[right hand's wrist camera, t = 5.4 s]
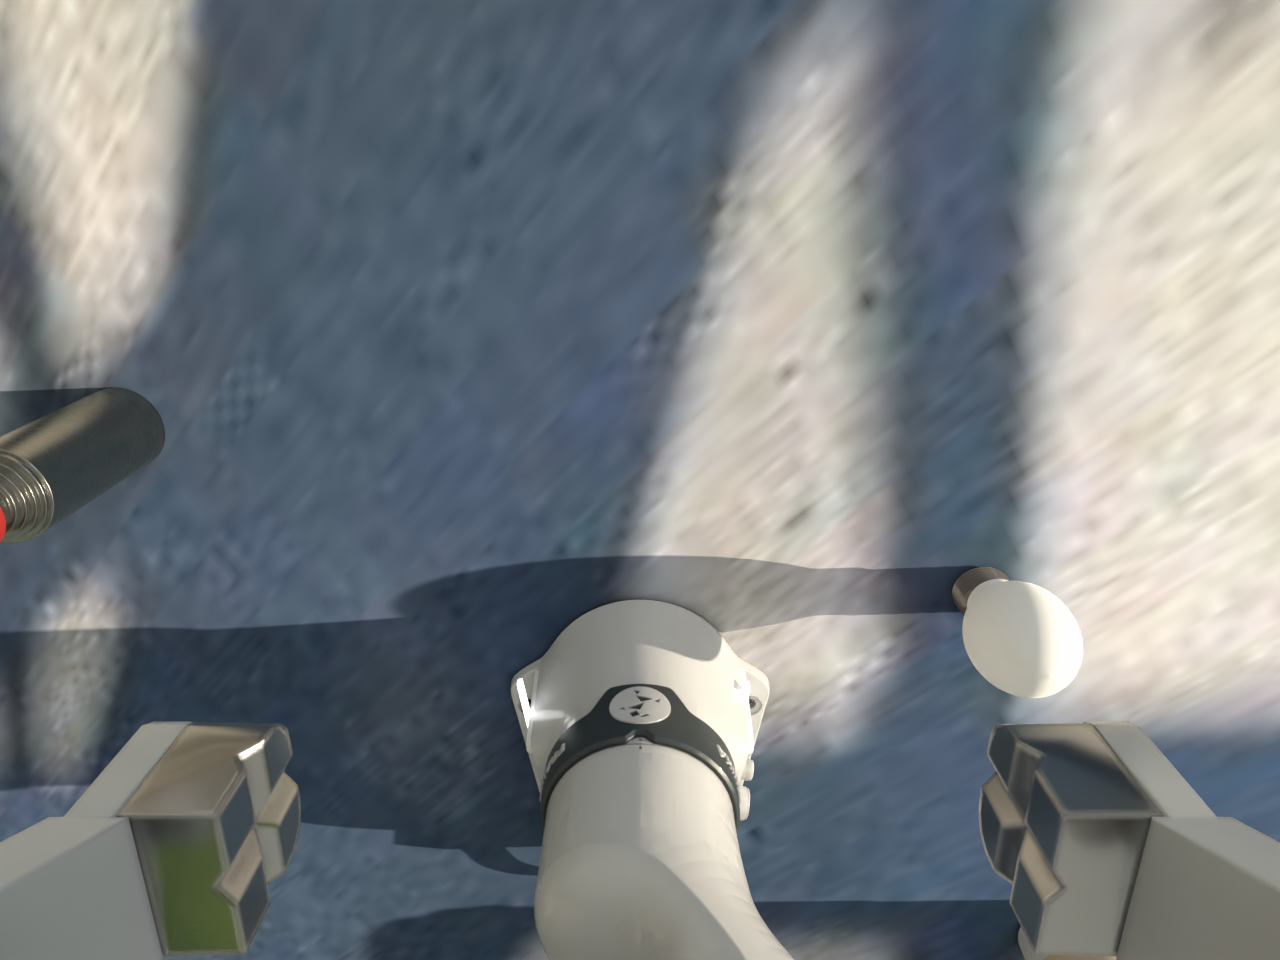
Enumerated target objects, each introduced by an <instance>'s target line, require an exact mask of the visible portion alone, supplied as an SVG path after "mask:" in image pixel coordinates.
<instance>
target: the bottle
mask: <svg viewBox="0 0 1280 960" xmlns="http://www.w3.org/2000/svg"><path fill="white" fill-rule="evenodd" d="M164 440H165V431H164V425H163V422H162V419H161V417H160V415H159V414H158V412H157V411H156V409H155V408H154V407H153V405H152V404H151V403H150V402H148V401H147V400H146V399H145V398H144V397H142V396H140V395H139V394H137V393H135V392H133V391H130V390H127V389H123V388H105V389H101V390H99V391H97V392H94V393H92V394H90V395H88V396H86V397H84V398H82V399H79V400H77V401H75V402H73V403H71V404H69V405H67V406H64V407H62V408H60V409H58V410H56V411H54V412H52V413H49V414H47V415H45V416H43V417H41V418H39V419H37V420H35V421H32V422H30V423H28V424H26V425H24V426H22V427H20V428H17V429H15V430H13V431H11V432H9V433H7V434H5V435H2V436H0V507H1V508H2V511H3V513H4V516H5V521H6V531H5V534H4V537H3V539H2V541H1V542H0V543H19V542H25V541H29V540H32V539H34V538H36V537H38V536H39V535H41V534H42V533H44V532H45V531H47V530H48V529H50V528H51V527H53V526H54V525H56V524H58V523H59V522H61V521H62V520H64V519H65V518H67V517H68V516H70V515H71V514H73V513H74V512H76V511H77V510H79V509H80V508H82V507H83V506H85V505H86V504H88V503H89V502H91V501H92V500H94V499H95V498H97V497H98V496H100V495H101V494H103V493H104V492H106V491H107V490H109V489H110V488H112V487H113V486H115V485H116V484H118V483H119V482H121V481H122V480H124V479H125V478H127V477H128V476H130V475H131V474H133V473H134V472H136V471H137V470H139V469H140V468H142V467H143V466H145V465H146V464H148V463H149V462H151V461H152V460H154V459H155V458H156V457H157V456H158V454H159V453H160V451H161V450H162V447H163V444H164Z"/></svg>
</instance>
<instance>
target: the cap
mask: <svg viewBox="0 0 1280 960" xmlns="http://www.w3.org/2000/svg"><path fill="white" fill-rule="evenodd" d="M5 531H6V521H5V516H4V513H3V511H2V508H1V507H0V542H1V541H2V539H3V537H4V534H5Z"/></svg>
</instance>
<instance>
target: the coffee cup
mask: <svg viewBox="0 0 1280 960" xmlns="http://www.w3.org/2000/svg"><path fill="white" fill-rule="evenodd" d="M1018 942H1019V946H1020V948H1021V951H1022V954H1023V956H1024V959H1025V960H1116V956H1081V955H1046V954H1034V952H1033V950H1032V948H1031V946H1030V944H1029V942H1028V940H1027V938H1026V936H1025V934H1024V932H1023V930H1022V928H1021V927H1020V930H1019V933H1018Z"/></svg>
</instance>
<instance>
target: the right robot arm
mask: <svg viewBox="0 0 1280 960" xmlns="http://www.w3.org/2000/svg"><path fill="white" fill-rule="evenodd" d="M511 696H512V700H513V703H514V707H515V710H516V714H517V717H518V720H519V724H520V727H521V731H522V734H523V737H524V741H525V744H526V749H527V752H528V755H529V758H530V761H531V765H532V768H533V772H534V775H535V779H536V782H537V785H538V789H539V792H540V799H539V802H541V804H540V822H541V828H542V832H543V842H542V849H541V857H540V864H539V871H538V879H537V886H536V894H535V901H534V915H535V923H536V928H537V932H538V935H539V939H540V941H541V944H542V946H543V948H544V950H545V952H546V954H547V955H548V957H549V959H550V960H795V959H794V958H793V957H792V956H791V955H790V954H789V953H788V952H787V950H786V949H785V948H784V947H783V946H782V945H781V944H780V943H779V941H778V940H777V939H776V938H775V936H774V935H773V934H772V932H771V931H770V930H769V929H768V927H767V925H766V924H765V922H764V921H763V919H762V918H761V916H760V915H759V913H758V911H757V909H756V907H755V905H754V903H753V900H752V898H751V895H750V891H749V888H748V884H747V880H746V876H745V873H744V868H743V864H742V860H741V855H740V850H739V845H738V839H737V832H738V828H739V822H740V820H742V821H743V820H746V819H747V816H748V813H749V806H750V792H749V789H748V788H746V787H745V786H742V785H743V782H744V780H752V777H753V772H754V763H753V760H750V758H751V755H752V752H753V750H754V744H755V741H756V738H757V734H758V731H759V727H760V724H761V721H762V717H763V714H764V710H765V707H766V703H767V700H768V697H769V681H768V678H767V677H766V676H765V674H764V673H762V672H761V671H760V670H758V669H757V668H755V667H754V666H752V665H750V664H749V663H747V662H745V661H743V660H742V659H740V658H739V657H738V656H737V655H735V653H734V652H733V651H732V650H731V648H730V647H729V646H728V644H727V643H726V641H725V640H724V639H723V637H722V636H721V635H720V634H719V632H718V631H717V630H716V629H715V628H714V627H712V626H711V625H710V624H709V623H708V622H707V621H705V620H704V619H703V618H701V617H699V616H698V615H696V614H694V613H693V612H691V611H689V610H687V609H684V608H682V607H679V606H677V605H673V604H670V603H666V602H661V601H655V600H625V601H619V602H614V603H610V604H607V605H603V606H601V607H598V608H596V609H593V610H591V611H589V612H587V613H586V614H584V615H582V616H581V617H579V618H577V619H576V620H575V621H573V622H572V623H571V624H570V625H569V626H568V627H566V628H565V629H564V630H563V631H562V633H561V634H560V635H559V636H558V637H557V639H556V640H555V641H554V643H553V644H552V646H551V647H550V648H549V650H548V651H547V652H546V653H545V655H544V656H543V657H541V658H540V659H539V660H537V661H535V662H533V663H531V664H530V665H528V666H526V667H525V668H523V669H522V670H520V671H519V672H518V673H517V674H516V675H515V676H514V677H513V678H512V681H511ZM528 699H531V703H529V702H528ZM749 699H752V700H754V701H753V702H751V703H749ZM292 755H293V751H292V746H291V741H290V736H289V732H288V729H287V728H285V727H284V726H283V725H282V724H281V723H246V722H200V721H197V722H190V721H153V722H150V723H148V724H145V725H142V726H141V727H140V728H139V729H138V730H137V732H136V733H135V734H134V735H133V736H132V737H131V739H130V740H129V741H128V742H127V743H126V744H125V746H124V747H123V748H122V749H121V750H120V751H119V753H118V754H117V755H116V756H115V757H114V758H113V760H112V761H111V762H110V763H109V764H108V765H107V767H106V768H105V769H104V770H103V771H102V772H101V774H100V775H99V776H98V777H97V778H96V779H95V781H94V782H93V783H92V784H91V785H90V786H89V788H88V789H87V790H86V791H85V792H84V793H83V795H82V796H81V797H80V798H79V799H78V800H77V802H76V803H75V804H74V805H73V806H72V807H71V809H70V810H69V811H68V812H67V813H66V814H65V816H64V817H48V818H46V819H44V820H43V821H41V822H39V823H37V824H35V825H33V826H31V827H29V828H27V829H25V830H23V831H22V832H20V833H18V834H16V835H14V836H12V837H10V838H8V839H6V840H4V841H2V842H1V843H0V960H164V956H198V955H232V954H246V952H247V950H248V948H249V946H250V944H251V942H252V940H253V938H254V936H255V934H256V932H257V930H258V928H259V926H260V924H261V922H262V920H263V918H264V915H265V913H266V911H267V909H268V907H269V905H270V899H269V893H268V887H267V885H268V884H269V883H271V882H272V881H273V880H275V879H276V878H278V877H279V876H280V875H282V874H283V873H284V872H286V870H287V868H288V866H289V863H290V861H291V859H292V857H293V855H294V852H295V849H296V845H297V840H298V836H299V831H300V826H301V800H300V793H299V786H298V785H297V784H296V783H295V782H294V781H293V780H292V779H291V778H290V777H289V776H288V775H287V774H286V773H285V772H284V770H285V768H286V766H287V764H288V762H289V761H290V759H291V757H292ZM987 755H988V757H989V759H990V761H991V762H992V764H993V766H994V768H995V770H996V772H995V773H994V774H993V775H992V776H991V777H990V778H989V779H988V780H987V781H986V782H985V783H984V784H983V785H982V786H981V794H980V802H979V810H978V811H979V822H980V833H981V838H982V841H983V845H984V849H985V852H986V855H987V857H988V859H989V861H990V863H991V866H992V868H993V870H994V872H996V873H997V874H998V875H1000V876H1001V877H1002V878H1004V879H1005V880H1007V881H1008V882H1009V883H1011V884H1012V885H1013V887H1012V893H1011V899H1010V905H1011V907H1012V909H1013V911H1014V913H1015V915H1016V917H1017V919H1018V922H1019V924H1020V926H1021V928H1022V930H1023V932H1024V934H1025V936H1026V938H1027V940H1028V942H1029V944H1030V946H1031V948H1032V950H1033V952H1034V954H1046V955H1081V956H1116V960H1280V843H1279V842H1277V841H1276V840H1274V839H1272V838H1270V837H1268V836H1266V835H1264V834H1262V833H1260V832H1258V831H1256V830H1255V829H1253V828H1251V827H1249V826H1247V825H1245V824H1243V823H1241V822H1239V821H1237V820H1236V819H1234V818H1232V817H1216V816H1215V814H1214V813H1213V812H1212V811H1211V810H1210V809H1209V807H1208V806H1207V805H1206V804H1205V803H1204V802H1203V800H1202V799H1201V798H1200V797H1199V796H1198V795H1197V793H1196V792H1195V791H1194V790H1193V789H1192V788H1191V786H1190V785H1189V784H1188V783H1187V782H1186V781H1185V779H1184V778H1183V777H1182V776H1181V775H1180V774H1179V772H1178V771H1177V770H1176V769H1175V768H1174V767H1173V765H1172V764H1171V763H1170V762H1169V761H1168V760H1167V758H1166V757H1165V756H1164V755H1163V754H1162V753H1161V751H1160V750H1159V749H1158V748H1157V747H1156V746H1155V744H1154V743H1153V742H1152V741H1151V740H1150V739H1149V737H1148V736H1147V735H1146V734H1145V733H1144V732H1143V730H1142V729H1141V728H1140V727H1139V726H1137V725H1135V724H1133V723H1131V722H1129V721H1103V722H1084V723H1070V724H996V725H995V727H994V729H993V731H992V733H991V735H990V739H989V745H988V750H987Z"/></svg>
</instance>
